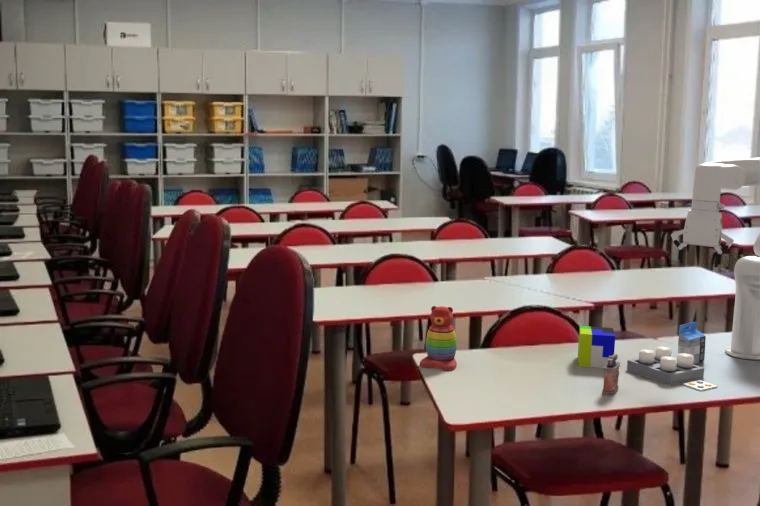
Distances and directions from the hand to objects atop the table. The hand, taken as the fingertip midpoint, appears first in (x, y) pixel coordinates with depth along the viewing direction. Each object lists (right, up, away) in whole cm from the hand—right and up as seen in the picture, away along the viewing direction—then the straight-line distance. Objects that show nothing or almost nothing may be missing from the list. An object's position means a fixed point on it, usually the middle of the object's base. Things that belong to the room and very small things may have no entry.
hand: (698, 264), depth 243 cm
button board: (-10, -32, -1) cm, 34 cm away
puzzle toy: (-28, -30, +10) cm, 42 cm away
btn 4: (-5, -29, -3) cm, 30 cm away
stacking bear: (-76, -30, +5) cm, 82 cm away
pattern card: (-4, -34, -11) cm, 36 cm away
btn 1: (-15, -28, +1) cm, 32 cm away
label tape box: (+1, -31, +11) cm, 32 cm away
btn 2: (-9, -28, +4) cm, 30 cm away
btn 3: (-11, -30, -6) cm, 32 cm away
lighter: (-31, -35, -17) cm, 49 cm away
